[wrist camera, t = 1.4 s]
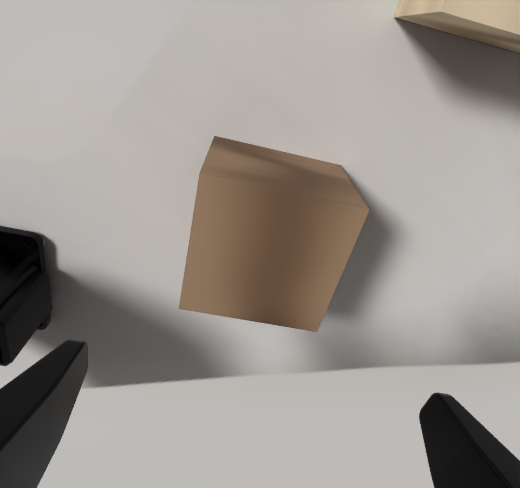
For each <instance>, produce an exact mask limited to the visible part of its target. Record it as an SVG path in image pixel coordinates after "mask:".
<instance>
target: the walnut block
mask: <svg viewBox="0 0 520 488" xmlns="http://www.w3.org/2000/svg"><path fill="white" fill-rule="evenodd" d="M369 210H370V209H369V208H368V206H367V205H366V203H365V202H364V200H363V198H362V197H361V195H360V194H359V192H358V191H357V189H356V188H355V186H354V185H353V183H352V181H351V180H350V178H349V177H348V175H347V174H346V172H345V171H344V169H343V168H342V166H341V165H337V164H333V163H329V162H324V161H320V160H316V159H312V158H307V157H303V156H299V155H294V154H290V153H286V152H281V151H277V150H273V149H268V148H264V147H260V146H256V145H251V144H247V143H243V142H238V141H234V140H230V139H225V138H221V137H217V136H214V139H213V141H212V144H211V146H210V149H209V151H208V154H207V156H206V159H205V161H204V164H203V166H202V168H201V171H200V174H199V181H198V188H197V194H196V201H195V207H194V214H193V220H192V227H191V233H190V240H189V246H188V253H187V259H186V266H185V272H184V279H183V285H182V292H181V298H180V305H179V309H184V310H190V311H195V312H201V313H207V314H213V315H219V316H225V317H231V318H237V319H243V320H249V321H255V322H261V323H267V324H273V325H279V326H285V327H290V328H296V329H302V330H308V331H314V332H317V331H318V329H319V326H320V324H321V322H322V319H323V317H324V315H325V313H326V310H327V308H328V306H329V303H330V301H331V299H332V296H333V294H334V292H335V289H336V287H337V285H338V282H339V280H340V278H341V275H342V273H343V271H344V268H345V266H346V264H347V262H348V259H349V257H350V255H351V252H352V250H353V248H354V245H355V243H356V241H357V238H358V236H359V234H360V231H361V229H362V227H363V224H364V222H365V220H366V217H367V215H368V213H369Z"/></svg>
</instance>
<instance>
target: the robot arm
mask: <svg viewBox="0 0 520 488" xmlns="http://www.w3.org/2000/svg"><path fill="white" fill-rule="evenodd" d="M28 240H29V241H31V242H32V243H33V244H34V245H33V244H30V243H29V242H28ZM51 309H52V303H51V292H50V281H49V275H48V273H47V272H46V268H45V258H44V247H43V241H42V238H41V237H40V236H39V235H37V234H36V233H33V232H28V231H23V230H17V229H12V228H6V227H1V226H0V365H1V366H7V365H9V364H10V363H12V362H13V360H14V359H15V358H16V356H17V355H18V354H19V352H20V351H21V350H22V348H23V347H24V346H25V344H26V343H27V342H28V340H29V339H30V338H31V336H32V335H33V334H34V332H35V331H36V329H38V330H43V329H45V328H46V327H47V326H48V324H49V323H50V311H51ZM87 368H88V346H87V343H86V342H85V341H80V340H73V339H69V340H67V341H65V342H64V343H62V344H61V345H59V346H58V347H57V348H55V349H54V350H53V351H51V352H50V353H49V354H47V355H46V356H45V357H43V358H42V359H40V360H39V361H38V362H36V363H35V364H34V365H32V366H31V367H30V368H28V369H27V370H25V371H24V372H23V373H21V374H20V375H19V376H17V377H16V378H15V379H13V380H12V381H10V382H9V383H8V384H6V385H5V386H4V387H2V388H1V389H0V488H37V486H38V484H39V482H40V480H41V478H42V476H43V474H44V472H45V470H46V468H47V466H48V464H49V462H50V460H51V458H52V456H53V454H54V453H55V450H56V448H57V446H58V444H59V442H60V440H61V438H62V435H63V433H64V430H65V428H66V425H67V422H68V420H69V417H70V415H71V412H72V409H73V407H74V404H75V402H76V398H77V396H78V394H79V391H80V388H81V386H82V383H83V380H84V378H85V375H86V372H87ZM419 418H420V424H421V429H422V434H423V439H424V443H425V448H426V453H427V457H428V463H429V467H430V472H431V476H432V480H433V484H434V488H520V461H519V460H518V459H517V458H516V457H515V456H514V455H513V454H512V453H511V452H510V451H509V450H508V449H507V448H506V447H505V446H503V444H501V443H500V442H499V441H498V440H497V439H496V438H495V437H494V436H493V435H492V434H491V433H490V432H489V431H488V430H487V429H486V428H485V427H484V426H483V425H482V424H481V423H479V422H478V421H477V420H476V419H475V418H474V417H473V416H472V415H471V414H470V413H469V412H468V411H467V410H466V409H465V408H464V407H463V406H462V405H461V404H460V403H459V402H458V401H456V400H455V399H454V398H453V397H452V396H451V395H448V394H443V393H434V394H432V395H431V397H430V398H429V399H428V401H427V402H426V404H425V405H424V406H423V407H422V409H421V411H420V415H419Z"/></svg>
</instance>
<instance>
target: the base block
mask: <svg viewBox="0 0 520 488" xmlns="http://www.w3.org/2000/svg"><path fill="white" fill-rule="evenodd" d="M394 17H396V18H399V19H402V20H406V21H409V22H413V23H416V24H420V25H423V26H427V27H430V28H434V29H437V30H441V31H444V32H448V33H451V34H455V35H458V36H462V37H465V38H469V39H472V40H476V41H479V42H482V43H486V44H489V45H493V46H496V47H500V48H503V49H507V50H510V51H514V52H517V53H520V0H400V2H399V5H398V7H397V10H396V13H395V16H394Z"/></svg>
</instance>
